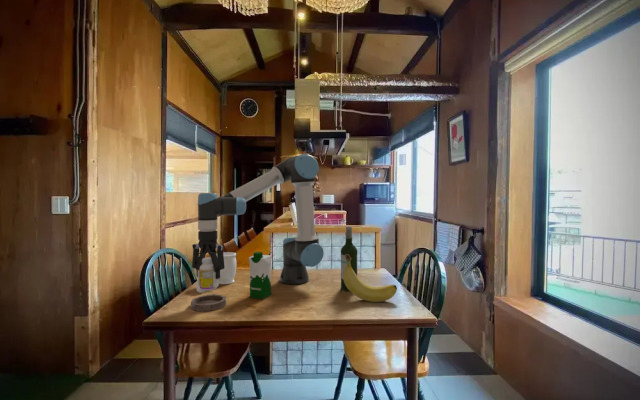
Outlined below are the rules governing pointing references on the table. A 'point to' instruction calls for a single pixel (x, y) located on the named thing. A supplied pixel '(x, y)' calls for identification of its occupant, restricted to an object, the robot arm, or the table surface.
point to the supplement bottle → (206, 275)
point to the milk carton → (260, 275)
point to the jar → (228, 268)
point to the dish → (208, 303)
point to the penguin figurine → (198, 288)
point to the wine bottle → (352, 252)
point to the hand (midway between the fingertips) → (208, 285)
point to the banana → (366, 286)
